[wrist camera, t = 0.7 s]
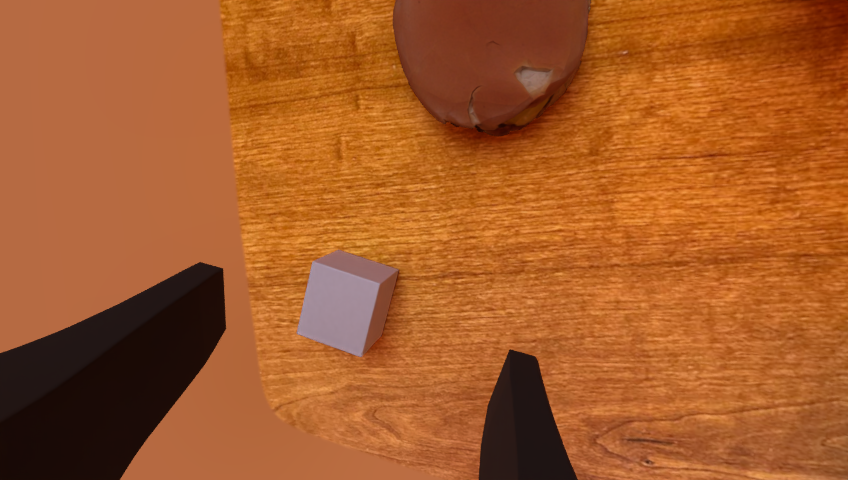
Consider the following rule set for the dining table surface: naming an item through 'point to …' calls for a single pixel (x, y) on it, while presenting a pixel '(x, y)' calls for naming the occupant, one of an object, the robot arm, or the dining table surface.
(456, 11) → the chocolate glazed sandwich cookie
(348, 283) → the cube
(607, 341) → the dining table surface
